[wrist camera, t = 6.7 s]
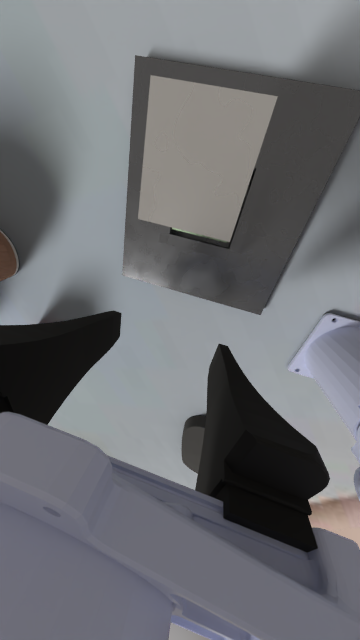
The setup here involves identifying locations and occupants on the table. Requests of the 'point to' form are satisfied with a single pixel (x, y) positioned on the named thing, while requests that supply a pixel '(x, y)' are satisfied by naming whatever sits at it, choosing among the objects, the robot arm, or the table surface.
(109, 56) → the table surface
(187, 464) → the media streaming box
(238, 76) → the stand
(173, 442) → the table surface
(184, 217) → the column
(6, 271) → the coffee cup
